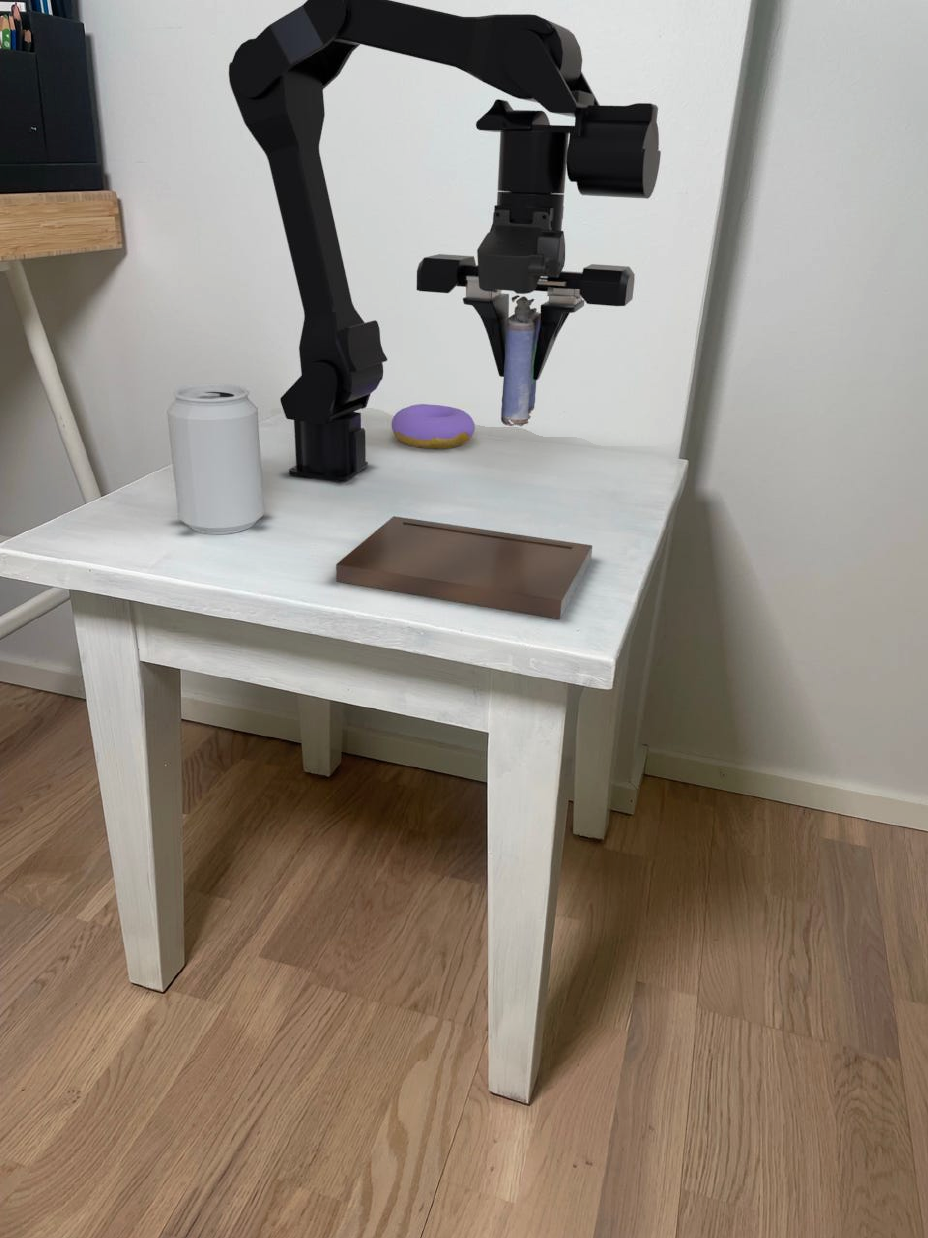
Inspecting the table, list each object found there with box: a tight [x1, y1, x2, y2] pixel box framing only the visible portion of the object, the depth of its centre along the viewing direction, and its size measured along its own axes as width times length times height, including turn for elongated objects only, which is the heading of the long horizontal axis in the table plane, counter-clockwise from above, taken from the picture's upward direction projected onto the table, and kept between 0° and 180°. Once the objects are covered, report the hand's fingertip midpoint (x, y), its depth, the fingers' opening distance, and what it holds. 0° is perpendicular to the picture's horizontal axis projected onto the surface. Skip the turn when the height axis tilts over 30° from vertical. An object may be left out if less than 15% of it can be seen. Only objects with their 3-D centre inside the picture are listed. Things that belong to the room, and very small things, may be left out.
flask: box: [500, 294, 541, 428], centre depth 85 cm, size 9×3×11 cm, turn 170°
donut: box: [391, 403, 476, 450], centre depth 109 cm, size 10×9×5 cm
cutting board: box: [335, 515, 593, 620], centre depth 75 cm, size 18×12×2 cm, turn 72°
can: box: [166, 383, 265, 535], centre depth 81 cm, size 8×8×12 cm
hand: (519, 377), depth 86 cm, fingers closed on flask, 3 cm apart
